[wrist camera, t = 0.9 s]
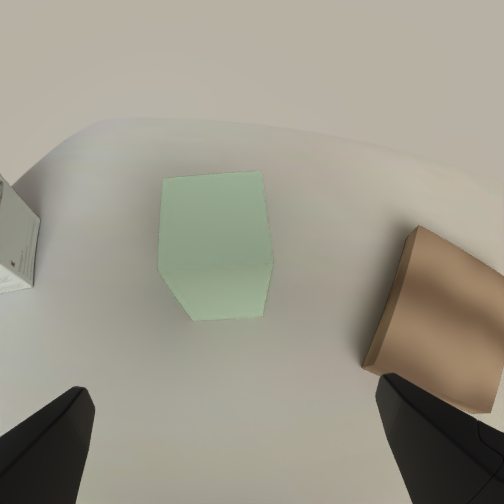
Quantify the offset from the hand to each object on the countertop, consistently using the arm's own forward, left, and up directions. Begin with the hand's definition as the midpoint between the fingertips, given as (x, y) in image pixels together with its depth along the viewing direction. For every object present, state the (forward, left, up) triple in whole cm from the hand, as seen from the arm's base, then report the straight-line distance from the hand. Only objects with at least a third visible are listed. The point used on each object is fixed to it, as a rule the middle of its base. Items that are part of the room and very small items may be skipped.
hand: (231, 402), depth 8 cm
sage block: (+3, +8, -13) cm, 15 cm away
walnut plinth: (+17, -4, -13) cm, 22 cm away
